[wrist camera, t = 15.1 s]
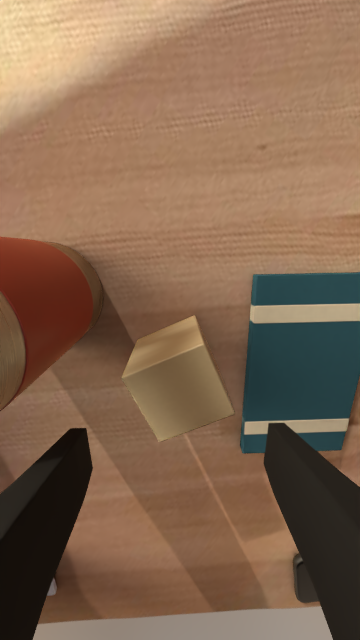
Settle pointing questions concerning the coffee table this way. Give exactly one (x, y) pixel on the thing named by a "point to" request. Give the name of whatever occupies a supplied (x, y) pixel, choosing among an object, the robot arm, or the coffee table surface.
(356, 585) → the robot arm
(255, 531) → the coffee table surface
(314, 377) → the towel
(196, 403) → the block
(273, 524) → the coffee table surface
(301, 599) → the smartphone
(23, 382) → the can
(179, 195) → the coffee table surface
